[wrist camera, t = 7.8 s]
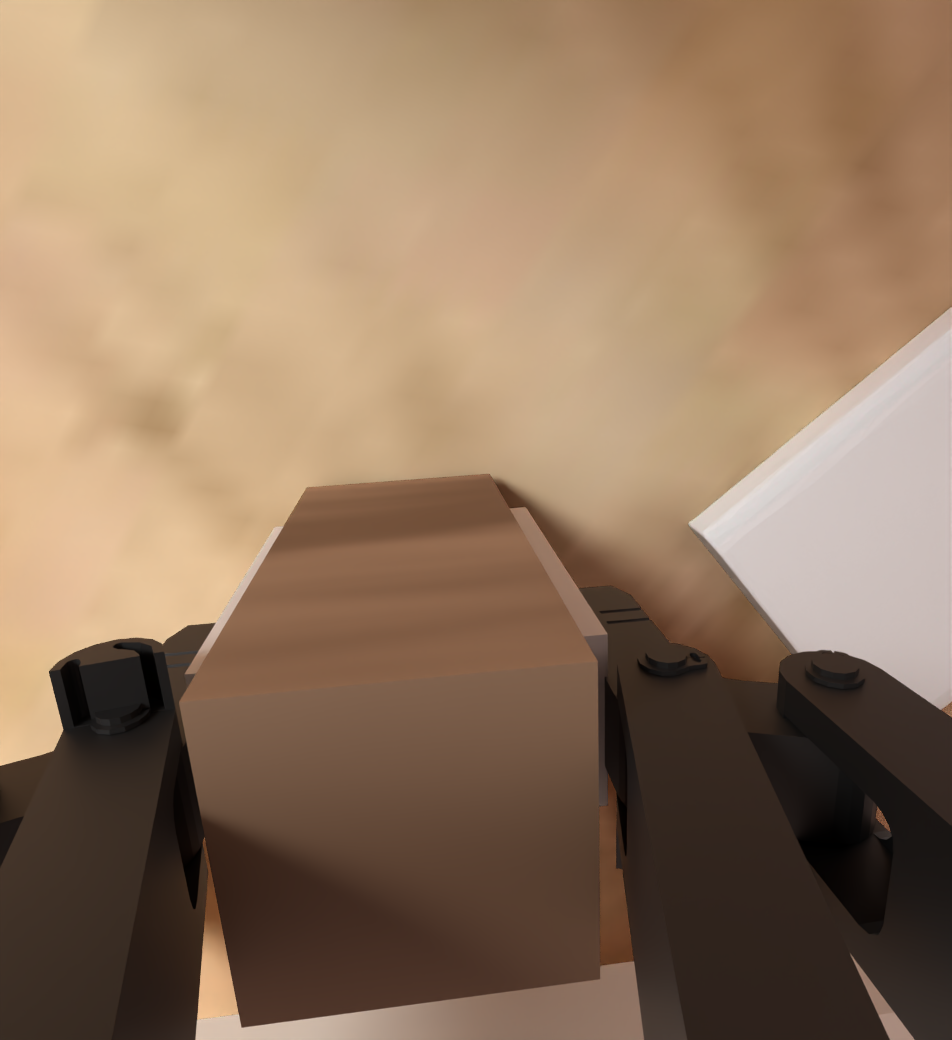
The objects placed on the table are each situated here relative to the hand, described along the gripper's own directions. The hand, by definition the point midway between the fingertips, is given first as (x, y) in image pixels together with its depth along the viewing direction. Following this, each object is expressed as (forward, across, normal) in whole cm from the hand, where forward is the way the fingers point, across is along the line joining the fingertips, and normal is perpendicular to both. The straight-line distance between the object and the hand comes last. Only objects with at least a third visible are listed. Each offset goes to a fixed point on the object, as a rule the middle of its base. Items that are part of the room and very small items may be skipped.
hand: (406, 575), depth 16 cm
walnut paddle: (0, 0, -8) cm, 8 cm away
